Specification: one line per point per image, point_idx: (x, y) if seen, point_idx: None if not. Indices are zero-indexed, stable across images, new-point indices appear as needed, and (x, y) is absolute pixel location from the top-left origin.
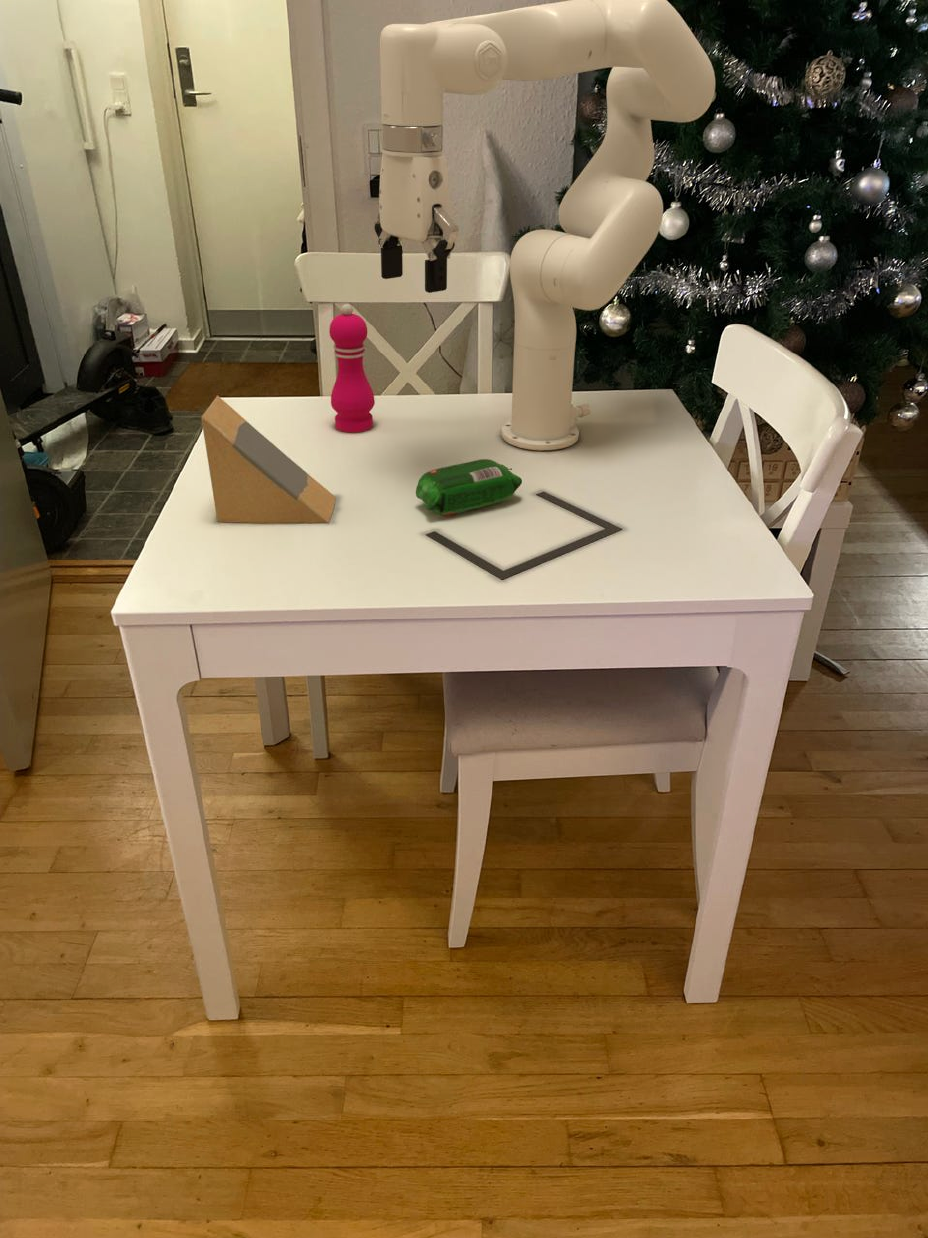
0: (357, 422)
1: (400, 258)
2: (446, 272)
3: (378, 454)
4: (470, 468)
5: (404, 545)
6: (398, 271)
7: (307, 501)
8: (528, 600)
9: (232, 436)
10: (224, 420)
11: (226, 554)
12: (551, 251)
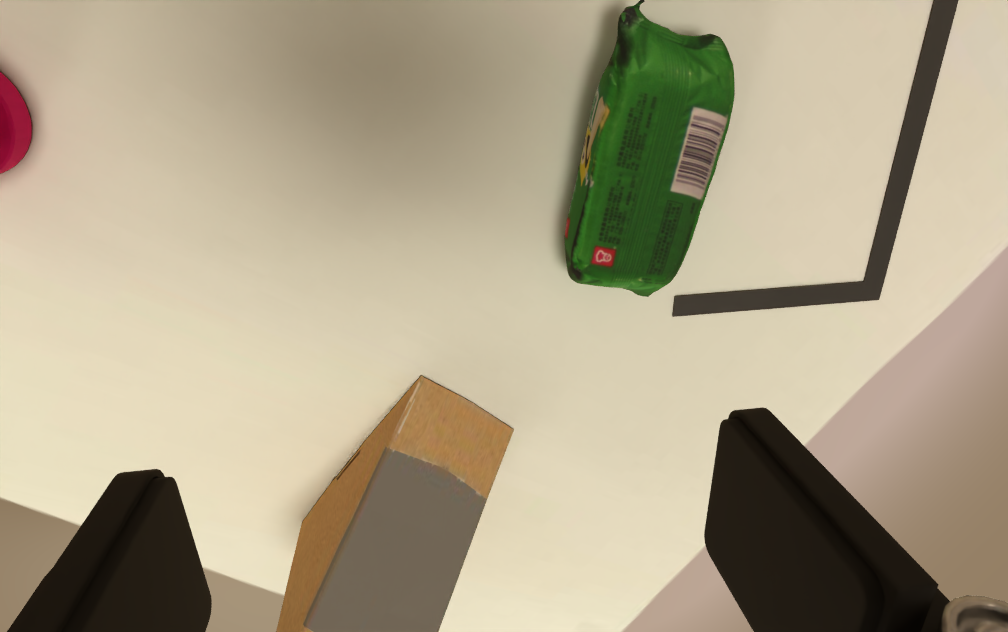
0: (13, 140)
1: (112, 609)
2: (836, 485)
3: (236, 175)
4: (654, 172)
5: (674, 364)
6: (165, 532)
7: (487, 476)
8: (944, 302)
9: None
10: None
11: (508, 578)
12: None
